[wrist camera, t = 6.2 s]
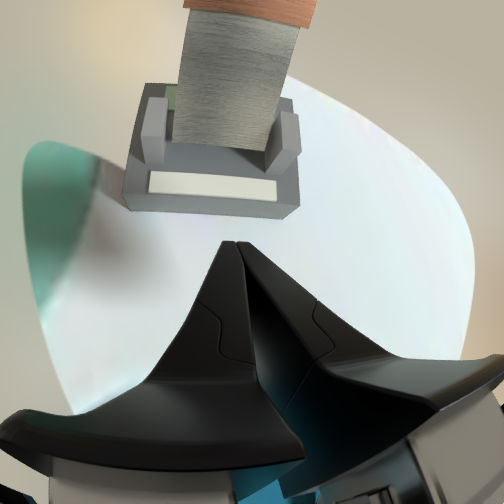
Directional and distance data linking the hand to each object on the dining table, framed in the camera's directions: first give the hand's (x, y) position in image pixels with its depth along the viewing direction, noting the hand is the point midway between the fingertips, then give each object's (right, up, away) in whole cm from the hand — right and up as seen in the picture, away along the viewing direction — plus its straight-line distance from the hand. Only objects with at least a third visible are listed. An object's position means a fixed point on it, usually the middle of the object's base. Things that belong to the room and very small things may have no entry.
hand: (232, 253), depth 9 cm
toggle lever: (-1, +6, +6) cm, 9 cm away
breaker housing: (-2, +6, +10) cm, 12 cm away
